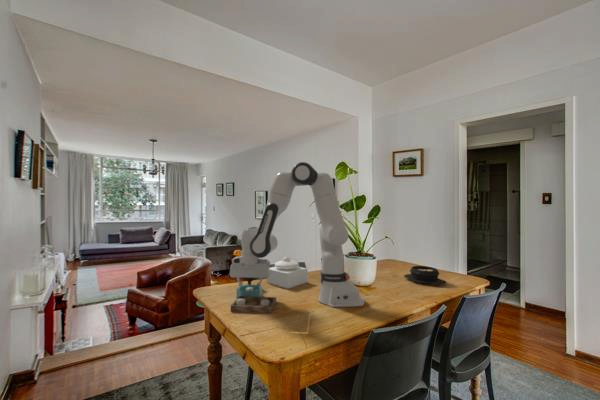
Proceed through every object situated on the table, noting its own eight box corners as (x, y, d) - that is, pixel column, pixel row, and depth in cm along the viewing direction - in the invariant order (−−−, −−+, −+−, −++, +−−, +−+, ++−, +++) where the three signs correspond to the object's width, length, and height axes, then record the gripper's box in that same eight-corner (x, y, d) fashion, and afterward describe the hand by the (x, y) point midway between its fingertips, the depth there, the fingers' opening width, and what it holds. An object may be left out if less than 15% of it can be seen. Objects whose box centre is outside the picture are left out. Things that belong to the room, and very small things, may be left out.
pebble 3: (269, 308, 129) (269, 299, 129) (268, 311, 126) (268, 302, 126) (261, 307, 130) (261, 299, 130) (259, 311, 126) (259, 302, 126)
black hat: (397, 279, 182) (397, 266, 182) (413, 275, 194) (413, 263, 194) (436, 289, 162) (436, 274, 162) (451, 284, 174) (452, 270, 174)
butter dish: (307, 282, 174) (307, 256, 174) (286, 289, 160) (286, 260, 161) (286, 277, 186) (287, 253, 186) (265, 283, 172) (266, 256, 172)
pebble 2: (254, 294, 147) (254, 286, 147) (252, 297, 143) (252, 289, 143) (246, 294, 148) (246, 286, 148) (244, 296, 144) (244, 288, 144)
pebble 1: (246, 307, 130) (246, 298, 130) (243, 310, 127) (243, 301, 127) (237, 307, 131) (238, 298, 131) (235, 310, 127) (235, 301, 127)
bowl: (263, 294, 151) (263, 284, 151) (258, 301, 139) (258, 292, 139) (241, 293, 152) (241, 284, 152) (234, 300, 140) (234, 291, 140)
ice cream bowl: (255, 291, 155) (255, 264, 155) (236, 290, 157) (236, 263, 157) (262, 286, 165) (262, 260, 165) (243, 285, 167) (244, 259, 167)
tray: (276, 303, 137) (276, 297, 137) (271, 314, 124) (271, 307, 124) (239, 302, 138) (239, 296, 138) (230, 312, 125) (230, 305, 125)
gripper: (271, 258, 148) (271, 285, 148) (232, 257, 150) (232, 283, 150) (268, 260, 142) (268, 288, 142) (228, 259, 143) (228, 287, 143)
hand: (249, 286), depth 146 cm, fingers open, 8 cm apart
